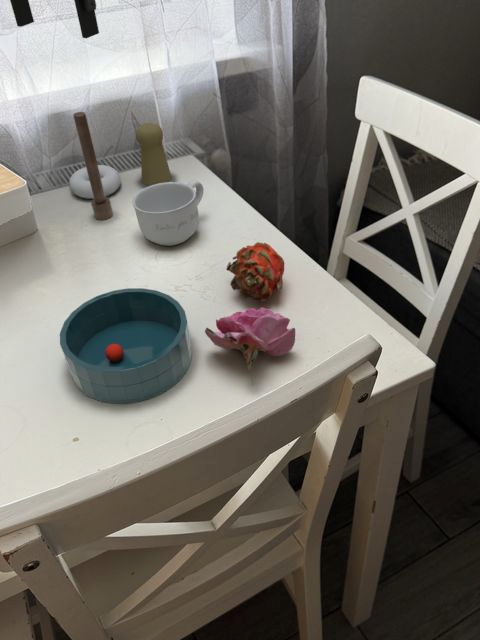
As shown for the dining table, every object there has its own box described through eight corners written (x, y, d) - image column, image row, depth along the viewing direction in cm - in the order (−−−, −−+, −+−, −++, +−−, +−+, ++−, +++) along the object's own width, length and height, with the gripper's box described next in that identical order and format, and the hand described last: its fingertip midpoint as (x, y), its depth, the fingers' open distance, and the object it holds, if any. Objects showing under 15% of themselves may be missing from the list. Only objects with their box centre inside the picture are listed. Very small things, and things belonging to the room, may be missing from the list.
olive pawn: (144, 188, 118) (134, 134, 111) (140, 174, 123) (130, 122, 115) (174, 183, 119) (166, 129, 112) (169, 170, 124) (161, 117, 116)
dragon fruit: (258, 325, 90) (250, 286, 99) (303, 291, 87) (290, 255, 97) (221, 288, 85) (216, 252, 95) (267, 252, 83) (257, 218, 93)
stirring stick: (90, 217, 111) (64, 115, 98) (103, 209, 113) (78, 108, 100) (104, 221, 110) (79, 119, 96) (116, 213, 112) (93, 112, 99)
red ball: (107, 340, 80) (109, 355, 79) (124, 341, 82) (126, 356, 81) (102, 348, 82) (103, 364, 81) (119, 349, 83) (120, 365, 82)
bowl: (45, 375, 81) (32, 342, 77) (125, 307, 91) (118, 275, 87) (139, 422, 75) (130, 389, 70) (214, 343, 85) (210, 311, 81)
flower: (228, 349, 88) (254, 288, 86) (281, 382, 84) (310, 319, 81) (181, 353, 79) (208, 284, 76) (238, 391, 74) (269, 320, 72)
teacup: (161, 261, 100) (153, 219, 94) (128, 234, 106) (119, 194, 101) (227, 230, 106) (224, 189, 101) (192, 207, 112) (187, 167, 107)
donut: (105, 173, 124) (62, 189, 119) (102, 157, 121) (57, 173, 117) (132, 189, 118) (87, 207, 113) (129, 173, 116) (83, 190, 111)
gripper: (106, -158, 72) (137, 33, 87) (-30, -158, 82) (19, 13, 97) (61, -153, 68) (102, 48, 82) (-77, -154, 77) (-19, 26, 92)
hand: (57, 30), depth 89 cm, fingers open, 13 cm apart
